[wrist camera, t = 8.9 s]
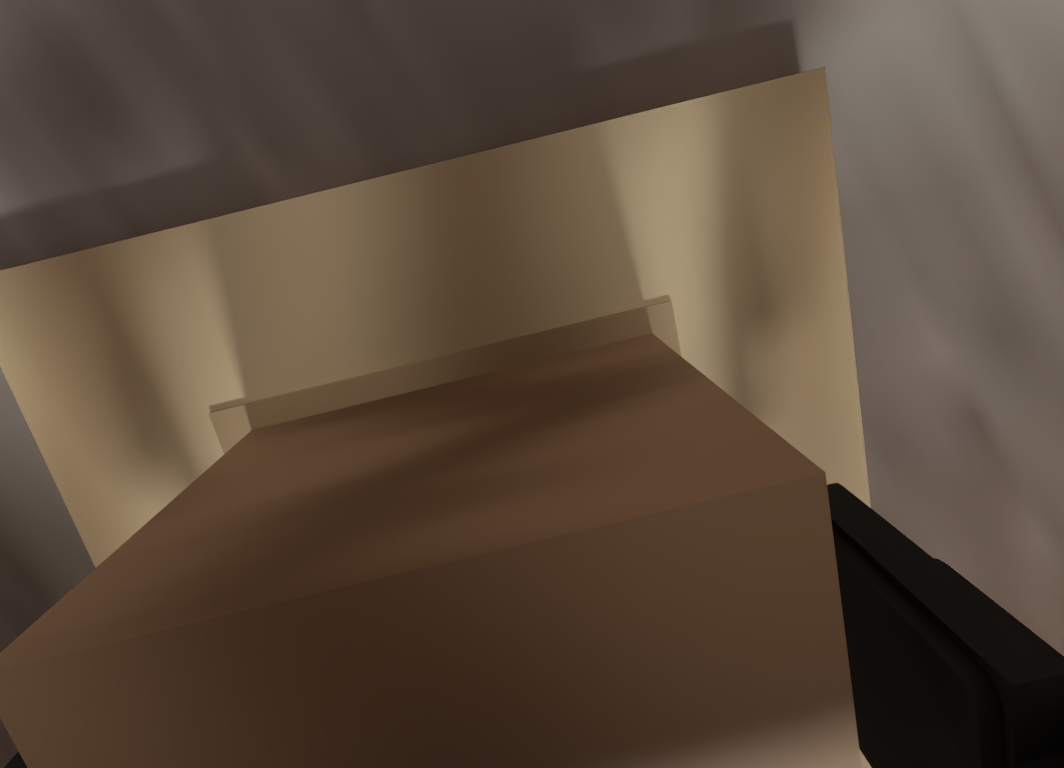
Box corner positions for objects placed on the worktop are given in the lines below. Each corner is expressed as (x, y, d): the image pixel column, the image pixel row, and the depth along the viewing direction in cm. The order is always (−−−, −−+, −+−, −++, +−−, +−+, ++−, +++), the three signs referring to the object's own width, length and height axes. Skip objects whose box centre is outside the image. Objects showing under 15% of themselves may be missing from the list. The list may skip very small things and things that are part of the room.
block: (652, 333, 11) (825, 472, 5) (716, 673, 13) (897, 1059, 7) (250, 430, 11) (-25, 673, 5) (372, 754, 13) (267, 1200, 7)
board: (801, 77, 11) (827, 65, 10) (877, 740, 14) (900, 774, 14) (-3, 275, 11) (-46, 281, 10) (273, 880, 15) (258, 922, 14)
